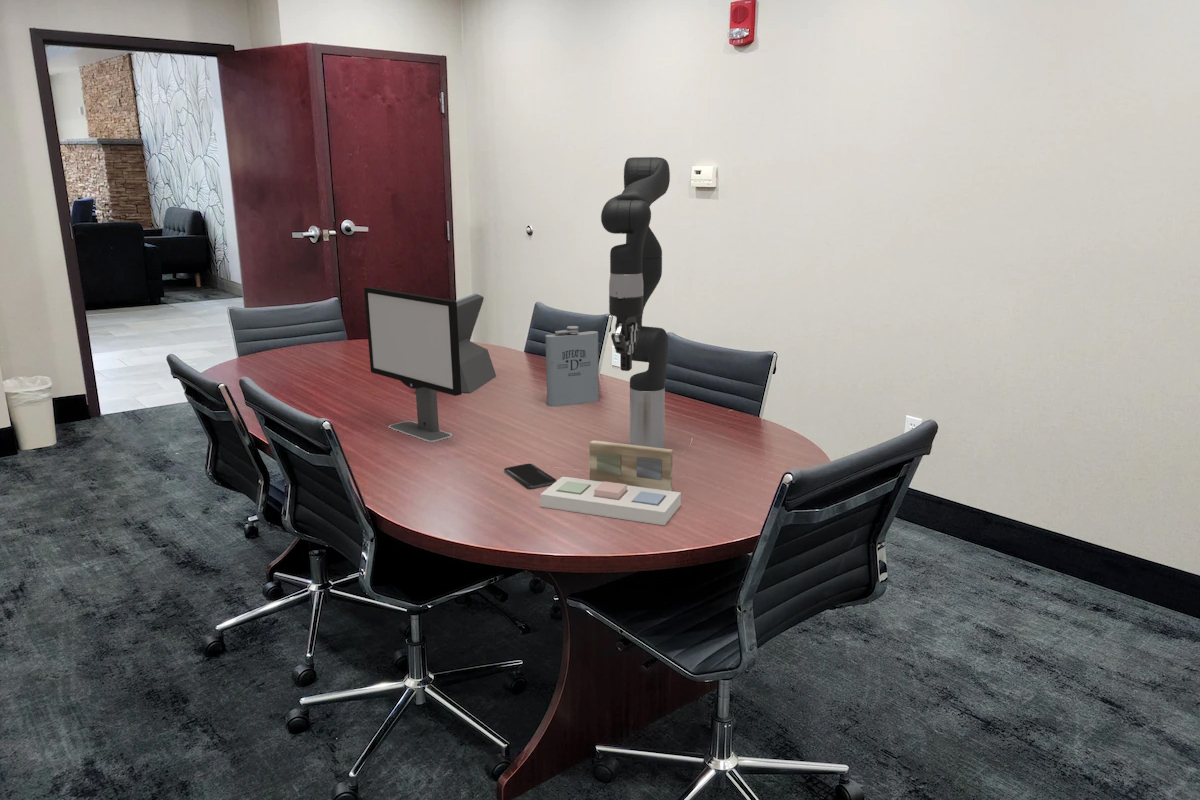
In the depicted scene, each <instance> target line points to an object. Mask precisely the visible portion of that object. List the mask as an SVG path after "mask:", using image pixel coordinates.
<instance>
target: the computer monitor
mask: <svg viewBox="0 0 1200 800" xmlns="http://www.w3.org/2000/svg"><path fill="white" fill-rule="evenodd" d="M363 292H364V293H363V294H364V303H365V304H364V305H365V306H364V307H365V317H366V319H365V320H366V328H367V330H366V331H367V339H368V352H369V353H368V354H369V355H368V356H369V363H370V364H369V365H370V373H372V374H375V375H378V376H383V377H386V378H390V379H393V380H395V381H399V382H401V383H402V384H403V385H405V386H406V387H407V388H410V389H413V390H414V389H415V397H416V398H415V399H416V401H415V402H416V412H417V413H416V414H417V422H416V421H413V420H406V421H400V422H397V423H393V424H389V426H388V429H389V428H391V429H394V430H397V431H399V432H402V433H405V434H408V435H411V436H414V437H417V438H419V439H418V440H420V439H422V440H424V441H423V442H425V441H427V442H426V443H436V442H435V441H438V442H440V441H439V440H441V441H444V440H447V438H448V439H451V438H453V433H451V432H447V431H444V430H441V429H440V427H439V414H438V413H439V411H438V409H439V408H438V398H437V397H438V394H437V392H440V393H443V394H447V395H451V396H454V397H456V396H460V395H462V392H461V375H460V356H459V337H458V319H457V302H456V300H453V299H446V298H443V297H442V298H440V297H435V296H428V295H422V294H416V293H410V292H404V291H399V290H398V291H396V290H391V289H390V290H389V289H385V288H384V289H383V288H377V287H372V286H368V287H364V288H363ZM391 429H390V430H391ZM394 430H393V431H394ZM397 431H396V432H397ZM399 432H398V433H399ZM402 433H401V434H402ZM405 434H404V435H405ZM408 435H407V436H408ZM411 436H410V437H411ZM414 437H413V438H414ZM417 438H416V439H417ZM443 439H444V440H443ZM422 440H421V441H422Z"/></svg>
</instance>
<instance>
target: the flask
mask: <svg viewBox="0 0 1200 800" xmlns="http://www.w3.org/2000/svg"><path fill="white" fill-rule="evenodd" d="M544 340H545V366H546V367H545V369H546V371H545V372H546V375H545V376H546V378H545V379H546V406H548V407H564V406H565V407H566V406H575V405H584V404H589V403H591V404H592V403H595V402H599V400H600V396H599V393H600V391H599V390H600V389H599V388H600V387H599V385H600V382H599V332H598V331H595V330H590V331H582V332H579V326H578V325H568V326H566V329H563V330H555V331H554V333H553V334H546V335H545V339H544Z"/></svg>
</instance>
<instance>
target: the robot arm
mask: <svg viewBox="0 0 1200 800" xmlns="http://www.w3.org/2000/svg"><path fill="white" fill-rule="evenodd" d="M670 171H671V170H670V165H669V162H668V161H667V160H666V159H665V158H664V157H658V156H655V157H654V156H643V157H642V156H640V157H639V156H638V157H637V156H636V157H629V158H627V159H626V161H625V162H624V167H623V187H624V189H623V191H622V192H621V193H620V194H617V195H615V196H613V197H611V198H610V199H608V200H607V201H606V202H605V204H604V205H603V207H602V210H601V214H600V221H601V225H602V228H603V229H604V230H605V231H606V232H608V233H610V234H614V235H615V234H617V235H619V234H621V235H625V243H623V244H617V245H614V246H613V247H612V248H611V249H610V252H609V253H610V254H609V257H610V258H609V261H610V262H609V263H610V264H609V270H610V271H609V272H610V273H609V283H608V294H609V295H608V299H609V300H608V303H609V304H608V311H609V312H608V313H609V314H610V316H612V317H615V318H616V322H615V325H614V331H615V332H614V333H613V332H612V333H611V335H610V336H611V337H610V338H611V340H612V344H613V347H614V349H615V353H616V354H619V355H620V370H621V371H623V372H629V371H631V370H632V369H633V364H632V363H633V361H634V362H643V363H648V367H647V370H645V371H642V372H638V373H635V374H633V375H631V376H630V378H629V445H637V446H646V447H654V448H663V449H665V417H666V416H665V406H666V405H665V403H666V402H665V401H666V398H665V396H666V395H665V393H666V392H665V391H666V389H665V388H666V379H667V378H666V377H667V369H668V368H667V365H668V354H669V353H668V351H669V338H668V333H667V331H666V330H665V329H664V328H662V327H657V326H655V327H654V326H647V325H646V326H644V325H643V314H644V310H645V308H646V304H647V302H648V301H649V299H650V297H651V296H652V294H654V291H655V289H656V288H657V286H658V284H659V283H660V281H661V279H662V274H663V249H662V246H661V244H660V242H659V240H658V239H657V237H656V235H655V234H654V232H653V231H652V229H651V227H650V224H651V220H652V219H651V218H652V212H651V211H652V210H651V206H652V204H653V203H655V202H656V201H657V200H659V199H660V198H661V197H663V196H664V195H665V194H666V193H667V192H668V190H669V187H670V179H671V176H670V175H671V173H670Z"/></svg>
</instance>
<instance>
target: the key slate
mask: <svg viewBox="0 0 1200 800" xmlns="http://www.w3.org/2000/svg"><path fill="white" fill-rule="evenodd" d="M664 498H665V495H664V494H657V493H649V492H642V491H641V492H640V493H639V494H638V495H637V496H636V497H635V498H634V500H633V502H635V503H642V504H649V505H656V506H659V504H660V503H661V502H662V501H663V500H664Z"/></svg>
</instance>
